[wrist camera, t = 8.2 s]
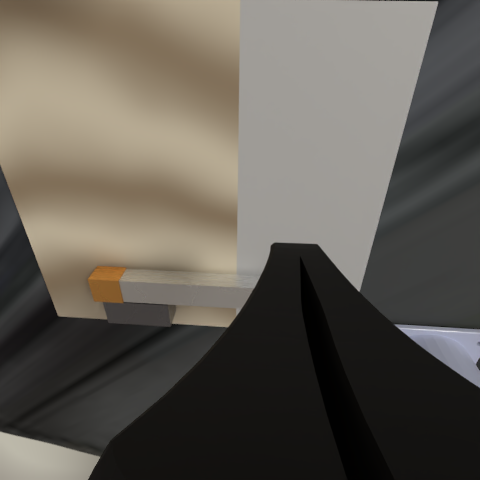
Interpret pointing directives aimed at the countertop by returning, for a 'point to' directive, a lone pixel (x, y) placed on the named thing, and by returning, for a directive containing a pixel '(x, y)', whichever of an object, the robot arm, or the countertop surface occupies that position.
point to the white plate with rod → (322, 122)
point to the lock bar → (171, 287)
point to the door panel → (122, 139)
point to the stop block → (140, 313)
